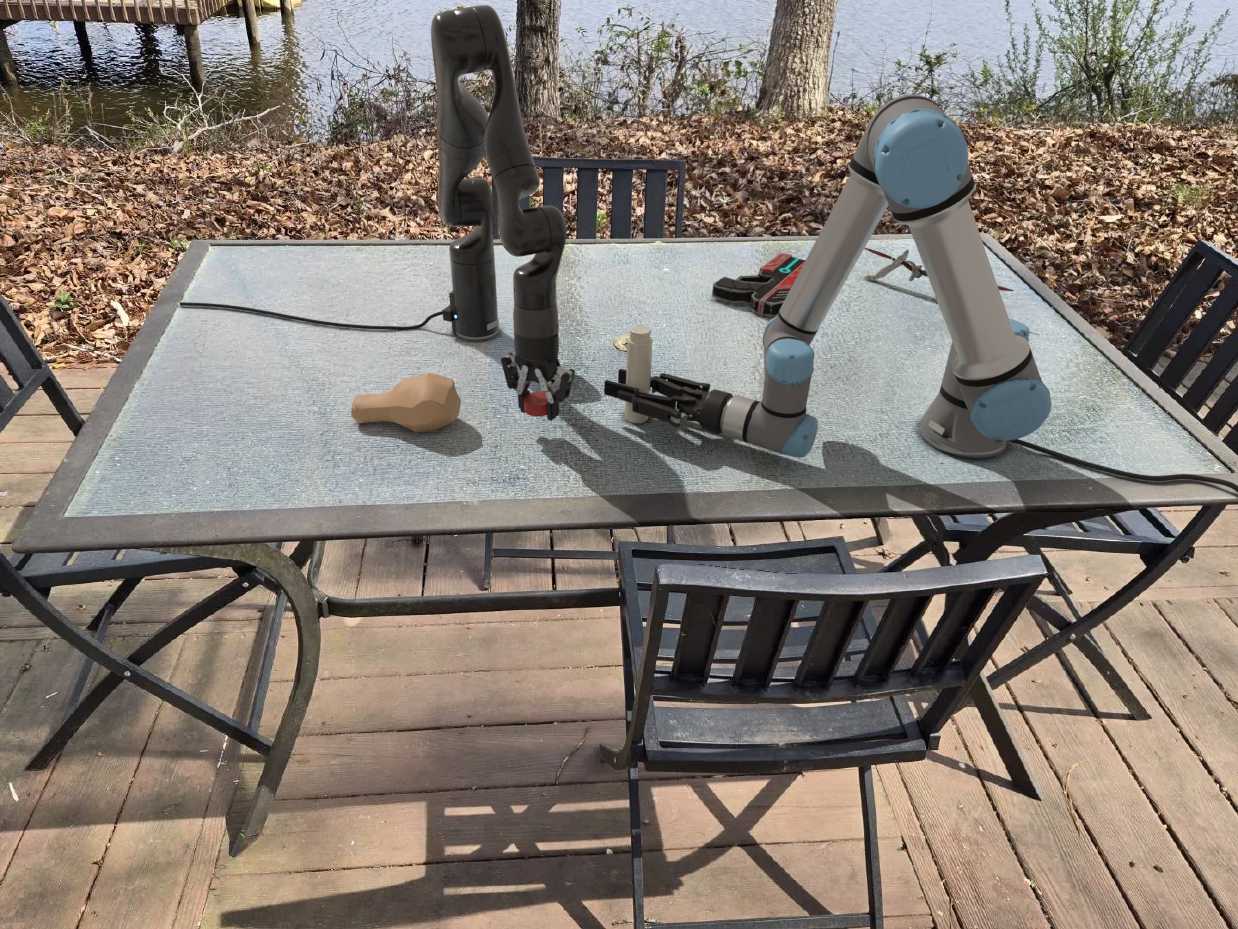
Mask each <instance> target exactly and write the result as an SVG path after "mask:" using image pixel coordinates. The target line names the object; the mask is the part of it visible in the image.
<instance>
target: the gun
mask: <svg viewBox="0 0 1238 929" xmlns="http://www.w3.org/2000/svg"><path fill="white" fill-rule="evenodd" d="M805 261H806V259H802V258H799V257H795V256H793V255H792V254H791V253H784V252H780V253H778V254H777V255H775V256H774V257H773V258H771V259H770V260H768V261H767V262H766V263H765V264H763V265H762V266H761V267H760V269H759V271H758V273H757V274H756V275H753V274H752V275H751V274H750V275H740V276H738V277H737V278H735V279H734V278H731V277H727V276H722V277H720V279H717V281H715V282H713V283H712V291H711V297H713V298H714V299H716V300H719V301H723V302H727V303H730V304H750V305H749V308H750V310H751V312H753V313H755V314H757V315H758V316H760V317H761V316H765V317H770V318H771V317H776V316H777V314H778V313H779V310H780V308H781V307H782V305H783V303H784V301H785V299H786V297H787V295H788V293H789V291H790V289H791V287H792V286H793V284H794V282H795V280H796V278H797V276H798V274H799V272H800V270H801V268H802V266H803V265H804V263H805Z"/></svg>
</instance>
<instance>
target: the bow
mask: <svg viewBox="0 0 1238 929" xmlns="http://www.w3.org/2000/svg"><path fill="white" fill-rule="evenodd" d="M864 250H866V251H868V252H870V253H871V254H874V255H876V256H879V257H881V258H885V259H888V260H891V261H892V263H890V264H888V265H886V266H885V267H883V268H881V269H880V270H878V271H877V273H876V274H872V275H871V274H868V275H865V277H864V278H865V279H866V280H868V281H870V282H874V281H875V282H878V283H881V284H884V285H887V286H890V287H894V288H897V289H900V290H904V291H906V292H910V293H913V294H917V295H919V296H922V297H926V298H930V299H933V300H936V301H937V299H936V297H932V296H928V295H925V294H922V293H920V292H919V293H918V292H915V291H913V290H908V289H906V288H903V287H899V286H896V285H892V284H890V283H886V282H883V281H880V280H879V279H881V278H885V277H886V276H887V275H888V274H890V273H891V272H893V271H894V270H897V268H899V267H901V266H903V267H904V268H905V269H907V270H908V271H910V272H911V274H910V276H909V279H908V282H914V281H915V279H920V278H922V277H923V276H924V277H927V278H928V276H927V273H926V270H925V269H924V270H923V269H922V268H923V264H920V265H919V264H918V265H917V264H916V263H915V262H913V261H912V260H907V258H908V256H909V252H910V249H905V251H903V253H902V254H901V255H899V256H897V257H896V258H895V257H892V256H891V255H888V254H886V253H884V252H881V251H878V250H875V249H871V248H868V247H865V248H864ZM997 286H998V289H999V291H1003V292H1014V291H1015V290H1014V289H1011V288H1009V287H1004V286H1001V285H997Z"/></svg>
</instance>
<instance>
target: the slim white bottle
mask: <svg viewBox="0 0 1238 929" xmlns="http://www.w3.org/2000/svg"><path fill="white" fill-rule="evenodd" d="M651 333H652V329H651V327H649V326H647V325H643V324H635V325H633V326H631V327H630V330H629V336H628V338H627V342H626V368H625V370H626V386H630V387H633V388H639V391H638V392H641V393H647V394H651V389H650V380H651V377H652V359H653V342H654V341H653V338H652V337H651V335H652V334H651ZM649 418H650V417H649V416H645V415H642V414H639V413H636V412H633V411H632V403H630V402H626V401H624V419H625V420H626V421H627V422H629V423H632V424H643V423H645V422H647V421H648V420H649Z"/></svg>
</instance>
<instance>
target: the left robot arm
mask: <svg viewBox="0 0 1238 929" xmlns="http://www.w3.org/2000/svg"><path fill="white" fill-rule="evenodd" d="M504 30H505V29H504V27H503V24H502V22H501V19H500V16H499V14H498V13H497V11H496V10H495V8H493V6H491V5H487V4H483V5H482V4H481V5H473V6H468V7H460V8H455V9H448V10H444V11H443V10H442V11H441V12H438V13H436V14H434V16H433V17H432V20H431V25H430V42H431V43H430V44H431V53H432V60H433V67H434V69H433V70H434V76H435V86H436V139H437V140H436V142H437V152H438V153H437V154H438V181H437V182H438V183H437V209H438V210H437V211H438V215H439V218H440V220H441V221H442V224H444V225H445V226H447V227H451V228H452V227H453V228H459V227H463V228H464V227H474V228H473V229H472V230H471V231H470V232H469V233H467V234H465V235H463V236H461V237H459V238H456V239H455V240H453V241H452V242H451V243H450V245H449V247H448V251H449V263H450V264H449V265H450V275H451V276H450V277H451V286H452V290H451V291H450V292H448V297H449V305H448V306H446V307H444V308H443V309H442V310H440V311H438V312H437V311H436V312H435V313H432V314H430V315H429V316H427V317H426V318H425V319H424V320H423V321H422V322H421V323H419V324H415V325H412V326H410V325H409V326H395V325H364V324H353V323H341V322H331V321H325V320H318V319H311V318H305V317H301V316H295V315H290V314H285V313H281V312H275V311H270V310H263V309H258V308H254V307H253V308H252V307H247V306H239V305H231V304H221V303H210V302H187V301H185V302H183V301H181V302H180V301H179V306H183V307H184V306H186V307H206V308H207V307H208V308H222V309H230V310H239V311H244V312H252V313H258V314H264V315H267V316H273V317H278V318H282V319H283V318H284V319H289V320H295V321H299V322H304V323H311V324H316V325H324V326H332V327H338V328H339V327H340V328H349V329H364V330H395V331H396V330H397V331H408V330H417V329H421V328H423V327H425V326H426V325H427V324H428V322H430V320H432V319H434V318H436V317H439V316H442V319H443V321H445V322H448V323H449V322H450V323H451V332H452V334H453V335H456V336H457V337H458V338H460V339H462V340H464V341H470V342H479V341H481V342H482V341H486V340H487V341H488V340H491V339H493V338H494V337H495V338H496V337H497V335H499V333H500V327H499V325H500V319H499V312H498V311H499V310H498V296H497V295H498V294H497V293H498V292H497V276H496V275H497V274H496V261H495V259H496V258H495V245H494V199H493V190H492V187H491V184H490V182H489V181H488V179H486V178H483V177H474V178H467V176H469V174H470V173H472V172H473V171H474V170H475V169H476V168H477V167H478V166H479V165H480V164H481V162H482V161H483V160H484V159H486V162H487V165H488V168H489V172H490V173H491V178H492V181H493V183H494V187H495V192H496V199H497V209H498V233H499V239H500V240H499V241H500V242H501V245H502V247H503V248H504V250H505V251H506V252H507V253H508V254H509V255H510V256H513V257H516V258H520V257H526V256H530V255H531V256H532V255H534V256H533V258H532V259H530V260H529V261H528V262H526V263H524V264H522V265H520V266H518V267H517V268H516V269H515V270H514V272H513V274H512V285H513V287H512V288H513V312H512V318H513V319H512V320H513V321H512V322H513V340H514V341H513V342H514V343H513V344H514V353H515V354H514V353H513V352H508V353H507V354H506V355H504V356H502V357H501V358H500V363H501V367H502V370H503V374H504V378H505V381H506V382H505V383H506V386H507V388H508V389H509V390H514V391H515V392H516V394H517V405H518V406H517V407H518V409H520V413H523V414H526V413H525V411H524V397H525V396H526V395H528V394H530V393H531V390H529V389H530V385H531V383H536V384H539V385H540V388H541V390H542V391H541V392H544V393H545V394H546V397H547V400H548V402H547V415H546V418H547V421H549V422H553V421H554V420H555V419H556V418H557V417H558V416H559V414H560V404H561V403H563V402H564V401H565V400H566V399H567V398H569V397H570V395H571V391H572V386H573V382H574V378H575V374H576V371H575V370H574V369H573V368H568V369H567V368H565V367H563V366H561V363H560V360H559V354H560V337H559V336H560V334H559V332H560V329H559V327H560V323H559V310H558V303H557V300H558V299H557V298H558V296H557V278H558V273H559V269H560V265H561V261H562V258H563V254H564V251H565V248H566V247H565V246H566V243H567V234H568V231H567V230H568V228H567V223H566V219H565V217H564V215H563V212H561V211H560V209H559V208H557V207H556V206H554V205H540V206H535V207H529V208H521V205H520V200H522V199H525V198H528V197H529V196H532V195H533V194H534V193H536V192H537V191H538V190H539V188H540V176H539V173H538V170H537V169H538V168H537V166H536V163H535V160H534V156H533V154H532V152H531V148H530V145H529V142H528V139H527V135H526V132H525V128H524V122H523V119H522V113H521V107H520V101H519V96H518V91H517V86H516V81H515V76H514V71H513V70H514V69H513V66H512V62H511V55H510V52H509V47H508V41H507V37H506V34H505V31H504ZM485 71H490V72H491V75H492V82H493V96H492V102H491V107H490V111H489V115H488V113H487V110H486V109H485V107H484V105H482V103H481V102H480V101H479V99H477V97H476V96H475V95H474V94H472V93H471V91H469V89H467V88H466V87H465V85H464V84H463V83H462V82H461V81H460V77H461V76H463V75H467V74H474V73H479V72H485ZM518 369H519V370H518ZM519 371H520V373H519ZM557 375H558V378H557Z"/></svg>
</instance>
